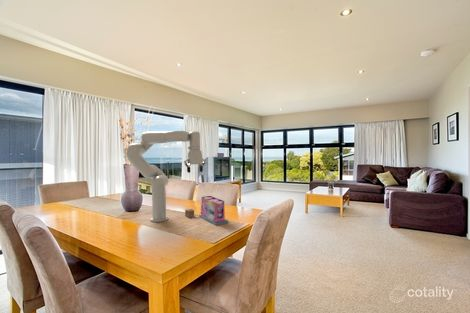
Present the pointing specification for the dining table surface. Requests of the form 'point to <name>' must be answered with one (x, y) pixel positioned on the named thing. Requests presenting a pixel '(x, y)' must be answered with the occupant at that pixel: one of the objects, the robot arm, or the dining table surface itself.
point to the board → (213, 221)
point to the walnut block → (189, 213)
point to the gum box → (213, 208)
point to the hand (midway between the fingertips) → (195, 172)
